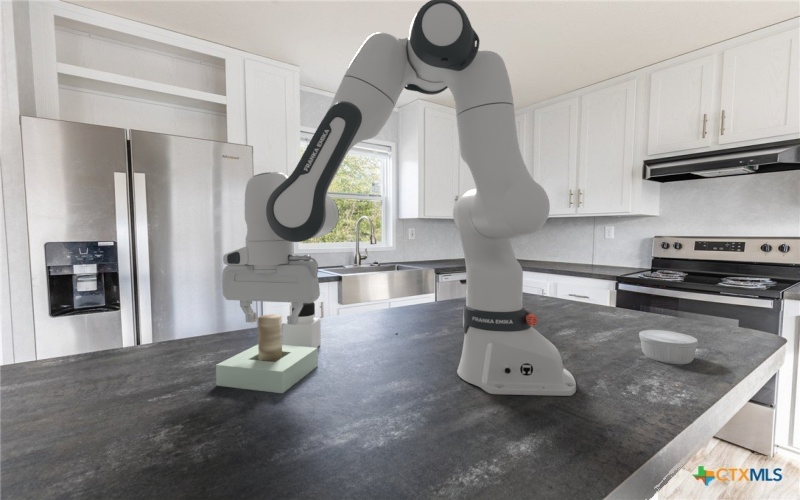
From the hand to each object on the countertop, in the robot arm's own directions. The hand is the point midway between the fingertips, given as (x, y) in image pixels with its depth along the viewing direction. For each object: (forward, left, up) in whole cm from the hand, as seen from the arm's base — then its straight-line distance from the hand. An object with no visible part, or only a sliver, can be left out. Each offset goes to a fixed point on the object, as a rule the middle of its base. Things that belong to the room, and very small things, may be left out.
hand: (271, 323), depth 74 cm
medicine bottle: (+2, -17, -11) cm, 20 cm away
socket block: (0, 0, -11) cm, 11 cm away
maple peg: (0, 0, -11) cm, 11 cm away
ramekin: (-84, -32, -11) cm, 90 cm away
